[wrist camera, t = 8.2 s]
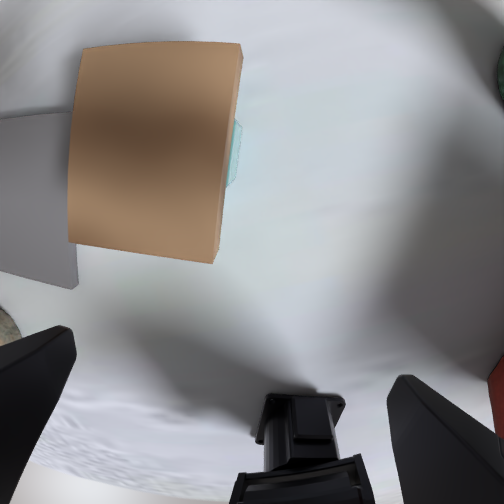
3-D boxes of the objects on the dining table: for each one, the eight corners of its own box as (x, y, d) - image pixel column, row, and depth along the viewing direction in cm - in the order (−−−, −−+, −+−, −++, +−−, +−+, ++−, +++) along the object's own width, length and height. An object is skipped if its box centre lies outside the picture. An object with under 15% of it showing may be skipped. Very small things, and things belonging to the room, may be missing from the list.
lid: (218, 248, 15) (212, 264, 13) (88, 231, 15) (68, 242, 13) (243, 57, 12) (239, 43, 10) (103, 58, 12) (83, 48, 10)
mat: (78, 283, 20) (71, 289, 19) (-7, 262, 20) (-14, 266, 19) (80, 112, 17) (72, 111, 16) (-11, 122, 16) (-19, 122, 15)
